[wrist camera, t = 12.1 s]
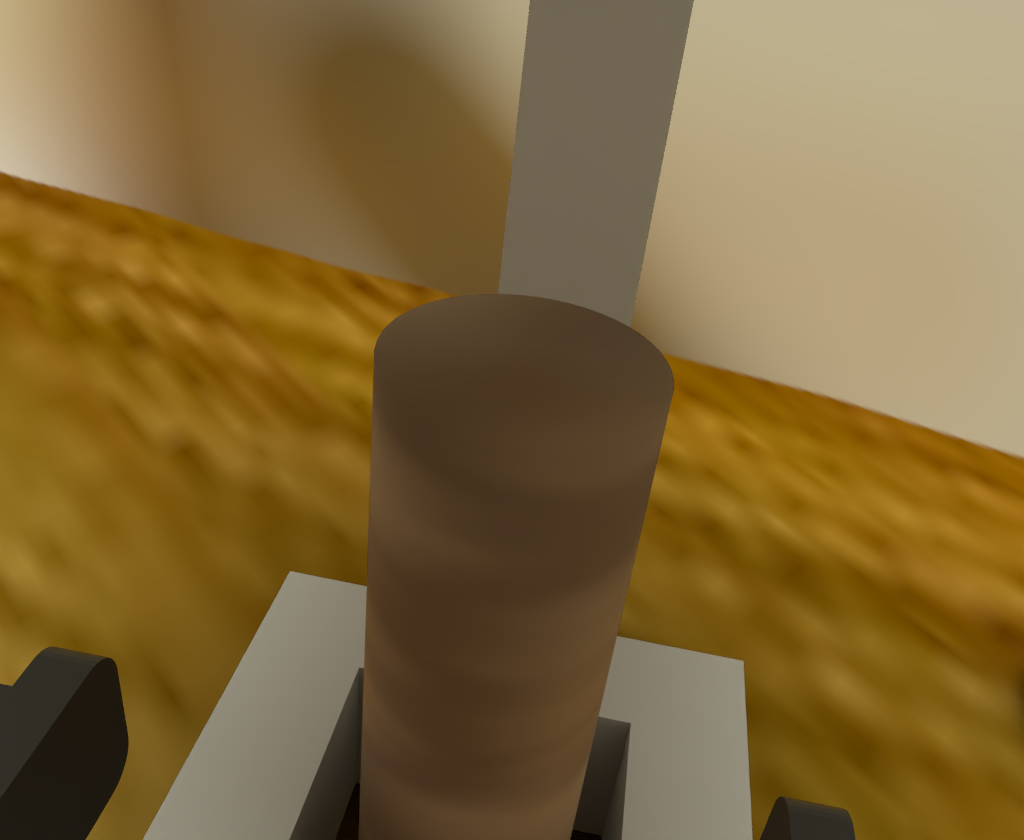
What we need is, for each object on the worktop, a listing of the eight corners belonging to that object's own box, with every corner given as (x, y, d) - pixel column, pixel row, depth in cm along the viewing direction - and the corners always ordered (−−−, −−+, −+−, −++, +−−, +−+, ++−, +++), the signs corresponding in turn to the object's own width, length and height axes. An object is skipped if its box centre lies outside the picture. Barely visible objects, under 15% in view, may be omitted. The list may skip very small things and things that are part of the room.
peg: (314, 951, 20) (308, 359, 12) (434, 816, 23) (490, 270, 15) (470, 1081, 18) (574, 488, 11) (578, 917, 21) (722, 360, 13)
